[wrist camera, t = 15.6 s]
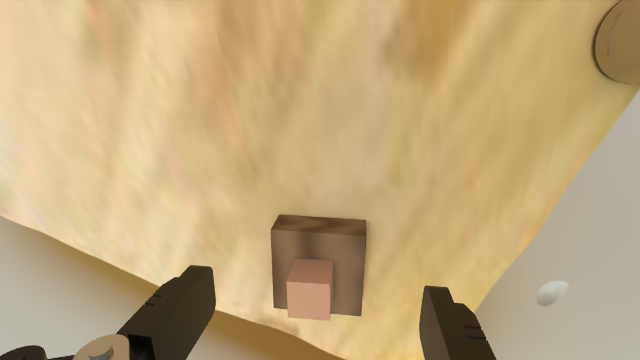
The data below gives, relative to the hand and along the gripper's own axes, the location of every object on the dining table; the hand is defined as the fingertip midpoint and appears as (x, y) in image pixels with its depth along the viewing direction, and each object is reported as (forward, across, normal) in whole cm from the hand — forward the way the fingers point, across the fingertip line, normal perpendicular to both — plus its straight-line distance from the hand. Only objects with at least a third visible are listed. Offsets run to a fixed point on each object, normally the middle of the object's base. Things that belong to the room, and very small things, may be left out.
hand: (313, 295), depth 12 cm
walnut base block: (+30, +3, +17) cm, 35 cm away
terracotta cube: (+26, +3, +17) cm, 31 cm away
